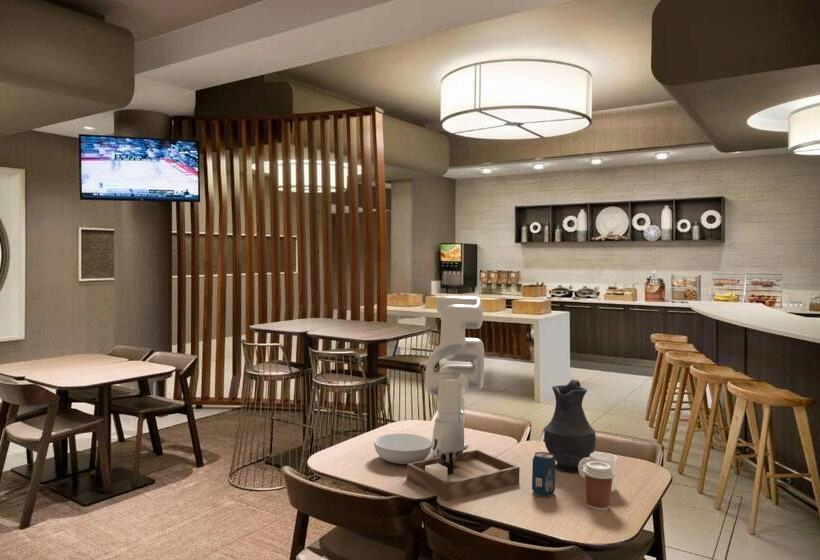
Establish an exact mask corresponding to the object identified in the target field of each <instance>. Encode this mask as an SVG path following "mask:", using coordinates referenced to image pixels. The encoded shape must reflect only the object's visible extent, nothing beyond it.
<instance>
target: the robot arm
mask: <svg viewBox="0 0 820 560" xmlns="http://www.w3.org/2000/svg"><path fill="white" fill-rule="evenodd" d="M435 307H436V312H437V314H438V316H439V319H440V320H441V322H440V339H439V340H440V341H439V342H440V343H439V345H438V346H437V347H436V348H435V349H434V350H433V351H432V352H431V353H430V355H429V357H428V359H427V361H426V366H425V375H424V376H425V377H424V388H425V390H426V392H427V394H429V395H432V396H437V419H436V420H435V422H434V424H433V425H434V426H433V431H432V438H431V439H432V440H431V442H432V448H431V450H432V451H433V452H434V453H433V456H434V458H441V459H442V460H443V466H445V467H447V474H448V475H450V474H453V468H454V461H455V459H456V457H457V455H458V454H460V453H463V452H464V449H466V448H468V446H469V445H468V444H469V442H468V441H467V440H465V417H466V416H465V413H466V412H465V409H466V407H465V406H466V405H465V404H466V403H465V398H464V397H463V396H464V395H465V394H466V393H467V391H479V390H481V389H482V388H483V386H484V381H485V347H484V346H485V345H484V343H483V341H482V340H481V339H479V338H478V337H477V338H476V337H466V329H467V330H468V329H469V330H470V329H471V330H475V329H480V328H481V327H482V326H483V321H484V305H483V301H482V299H481V298H480V297H478V296H466V295H465V296H460V295H444V296H439V297H438V298H437V299H436V301H435ZM443 359H444V360H446V361H447V362H451V363H468V364H469V363H470V364H472V365H470V364H469V365H467V364H444V365H443V366H441V367H440V368H439V370H438V372H437V371H435V366H436V365H437V364H438V363H439V362H440V361H441V360H443Z"/></svg>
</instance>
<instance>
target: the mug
mask: <svg viewBox="0 0 820 560" xmlns="http://www.w3.org/2000/svg"><path fill="white" fill-rule="evenodd" d="M594 461H595V462H603V463H606V464H609V465H610V466H611V467H612V470H613V471H614V472H615V477H614V478H612V487H611V493H614V492H615V491H616V490H617V482H618V481H617V479H618V478H617V477H618V475H617V473H618V457H617V456H616V455H614V454H612V453H608V452H603V451H602V452H601V451H599V452H598V451H597V452H596V451H594V452H593V453H591V454H590V457H586V458H583V459H581V460H580V462H579V465H578V470H579V473H578V474H579V475H580V477H581V478H583V479H584V480H585V474H584V473H583V470H582V467H584V465H585V464H584V463H585V462H586V463H588V462H594Z"/></svg>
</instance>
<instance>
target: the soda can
mask: <svg viewBox="0 0 820 560" xmlns="http://www.w3.org/2000/svg"><path fill="white" fill-rule="evenodd" d="M556 464H557V462H556V460H555V459H554V455H553V454H551V453H549V452H548V451H547V452H546V451H538V452H535V453H534V456H533V458H532V470H531V473H532V474H531V489H532V492H533V493H534V494H535V496H539V497H543V498H544V497H545V498H546V497H547V498H548V497H551V496H553V494H554V493H555V491H556V468H555V465H556Z"/></svg>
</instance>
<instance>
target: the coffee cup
mask: <svg viewBox="0 0 820 560" xmlns="http://www.w3.org/2000/svg"><path fill="white" fill-rule="evenodd" d="M583 473H584V474H585V479H584V480H585V481H584V482H585V485H584V486H585V499H586V500H585V501H586V507H589V508H590V509H592V510H596V511H607V510H609V509H610V503H611V495H612V494H611V493H612V492H611V487H612V478H614V477H615V472H614V471H613V470H612V467H611V466H610V465H609V464H606V463H603V462H595V461H594V462H586V465H585V466H583Z"/></svg>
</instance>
